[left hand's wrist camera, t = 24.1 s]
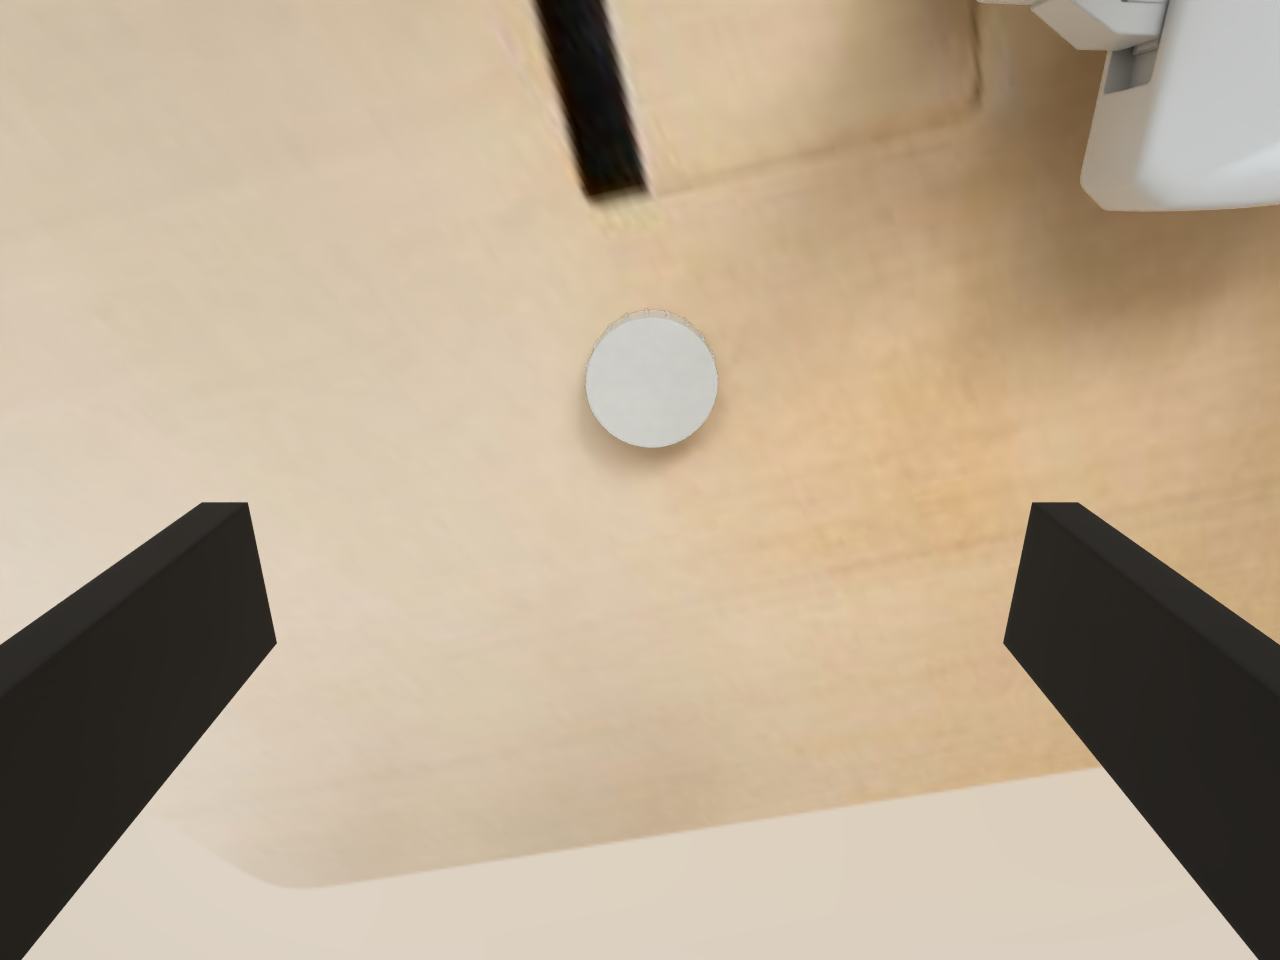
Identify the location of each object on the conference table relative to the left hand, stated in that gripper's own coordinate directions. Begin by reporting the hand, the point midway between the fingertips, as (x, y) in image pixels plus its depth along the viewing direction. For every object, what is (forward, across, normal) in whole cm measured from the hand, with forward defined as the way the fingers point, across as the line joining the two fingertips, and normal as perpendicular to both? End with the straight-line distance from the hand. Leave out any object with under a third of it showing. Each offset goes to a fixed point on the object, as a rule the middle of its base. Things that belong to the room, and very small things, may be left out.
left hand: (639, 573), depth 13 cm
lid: (+18, 0, -1) cm, 18 cm away
